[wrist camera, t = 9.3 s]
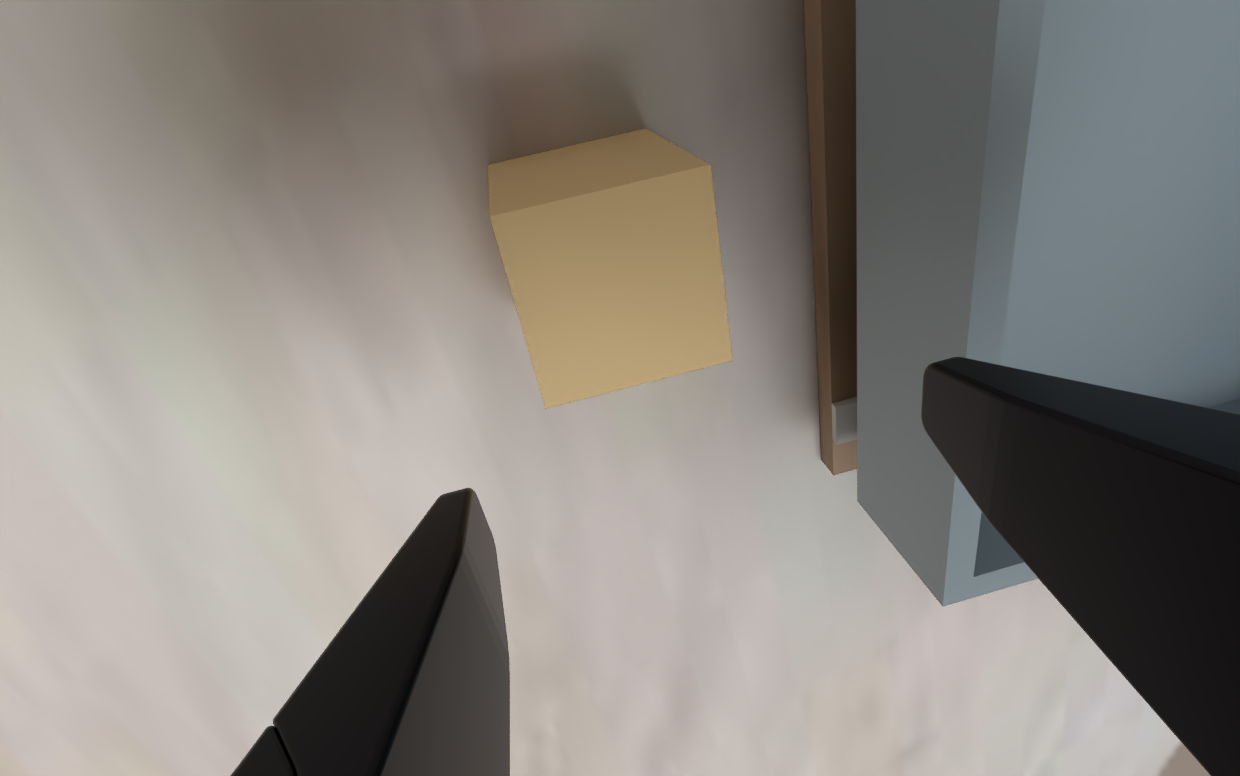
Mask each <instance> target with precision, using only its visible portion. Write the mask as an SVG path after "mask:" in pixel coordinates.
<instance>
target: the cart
mask: <svg viewBox="0 0 1240 776" xmlns="http://www.w3.org/2000/svg"><path fill="white" fill-rule="evenodd" d="M856 198H857V501H858V502H859V504H860V505H861V506H862V507H863V509H864V510H865V511H866V512H867V513H868V515H869V516H870V517H871V518H872V520H873V521H874V522H875V523H876V525H877V526H878V527H879V528H880V530H881V531H882V532H883V533H884V534H885V536H886V537H887V538H888V539H889V541H890V542H891V543H892V544H893V546H894V547H895V548H896V549H897V551H898V552H899V553H900V554H901V555H902V557H903V558H904V559H905V560H906V562H907V563H908V564H909V565H910V567H911V568H912V569H913V570H914V572H915V573H916V574H917V575H918V577H919V578H920V579H921V580H922V581H923V583H924V584H925V585H926V586H927V588H928V589H929V590H930V591H931V593H932V594H933V595H934V596H935V598H936V599H937V600H938V601H939V602H940V604H941V605H942V606H946V605H949V604H953V603H956V602H960V601H963V600H966V599H970V598H973V597H977V596H980V595H983V594H987V593H990V592H993V591H997V590H1000V589H1004V588H1007V587H1010V586H1014V585H1017V584H1021V583H1024V582H1027V581H1031V580H1034V579H1037V578H1038V577H1037V576H1036V575H1035V574H1034V573H1033V572H1032V570H1031V569H1030V568H1029V567H1028V566H1027V565H1026V564H1025V562H1024V561H1023V560H1022V559H1021V558H1020V557H1019V556H1018V554H1017V553H1016V552H1015V551H1014V550H1013V549H1012V548H1011V546H1010V545H1009V544H1008V543H1007V542H1006V541H1005V540H1004V538H1003V537H1002V536H1001V535H1000V534H999V533H998V531H997V530H996V529H995V528H994V526H993V525H992V524H991V523H990V522H989V520H988V519H987V518H986V517H985V515H984V514H983V513H982V511H981V510H980V509H979V507H978V506H977V505H976V503H975V502H974V500H973V499H972V497H971V496H970V495H969V493H968V492H967V490H966V489H965V487H964V486H963V485H962V483H961V482H960V480H959V479H958V477H957V476H956V475H955V473H954V472H953V470H952V469H951V467H950V466H949V465H948V463H947V462H946V460H945V459H944V457H943V456H942V455H941V453H940V452H939V450H938V449H937V447H936V446H935V445H934V443H933V442H932V440H931V439H930V437H929V436H928V435H927V433H926V431H925V429H924V427H923V424H922V419H921V406H922V388H923V375H924V371H925V368H926V367H927V366H928V365H929V364H931V363H934V362H937V361H941V360H945V359H948V358H952V357H964V358H968V359H973V360H978V361H983V362H988V363H993V364H997V365H1002V366H1007V367H1012V368H1017V369H1022V370H1027V371H1031V372H1036V373H1041V374H1046V375H1051V376H1056V377H1061V378H1065V379H1070V380H1075V381H1080V382H1085V383H1090V384H1095V385H1099V386H1104V387H1109V388H1114V389H1119V390H1124V391H1129V392H1133V393H1138V394H1143V395H1148V396H1153V397H1158V398H1163V399H1167V400H1172V401H1177V402H1182V403H1187V404H1192V405H1197V406H1201V407H1206V408H1211V409H1216V410H1221V411H1226V412H1231V413H1235V414H1240V0H856Z"/></svg>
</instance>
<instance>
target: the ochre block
mask: <svg viewBox="0 0 1240 776" xmlns="http://www.w3.org/2000/svg"><path fill="white" fill-rule="evenodd" d="M488 180H489V217H490V220H491V224H492V227H493V231H494V234H495V238H496V241H497V244H498V248H499V251H500V255H501V258H502V262H503V265H504V268H505V272H506V275H507V279H508V282H509V286H510V289H511V292H512V296H513V299H514V303H515V306H516V310H517V313H518V317H519V320H520V323H521V327H522V330H523V334H524V337H525V341H526V344H527V347H528V351H529V354H530V358H531V361H532V365H533V368H534V371H535V375H536V378H537V382H538V385H539V389H540V392H541V395H542V399H543V402H544V406H545V409H547V408H551V407H555V406H559V405H563V404H567V403H570V402H574V401H578V400H582V399H586V398H590V397H594V396H598V395H601V394H605V393H609V392H613V391H617V390H621V389H625V388H628V387H632V386H636V385H640V384H644V383H648V382H652V381H656V380H659V379H663V378H667V377H671V376H675V375H679V374H683V373H686V372H690V371H694V370H698V369H702V368H706V367H710V366H714V365H717V364H721V363H725V362H729V361H733V360H732V351H731V342H730V333H729V324H728V315H727V306H726V297H725V288H724V279H723V270H722V261H721V252H720V243H719V234H718V225H717V216H716V207H715V198H714V189H713V180H712V171H711V164H709V163H707V162H705V161H704V160H702V159H700V158H698V157H697V156H695V155H693V154H691V153H689V152H688V151H686V150H684V149H682V148H680V147H679V146H677V145H675V144H673V143H671V142H670V141H668V140H666V139H664V138H662V137H661V136H659V135H657V134H655V133H654V132H652V131H650V130H648V129H646V128H645V129H640V130H636V131H632V132H627V133H623V134H619V135H614V136H610V137H606V138H601V139H597V140H593V141H588V142H584V143H580V144H575V145H571V146H567V147H562V148H558V149H554V150H550V151H545V152H541V153H537V154H532V155H528V156H524V157H519V158H515V159H511V160H506V161H502V162H498V163H493V164H489V165H488Z"/></svg>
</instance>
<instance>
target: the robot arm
mask: <svg viewBox="0 0 1240 776" xmlns="http://www.w3.org/2000/svg"><path fill="white" fill-rule="evenodd" d="M921 419H922V424H923V427H924V429H925V431H926V433H927V435H928V436H929V437H930V439H931V440H932V442H933V443H934V445H935V446H936V447H937V449H938V450H939V452H940V453H941V455H942V456H943V457H944V459H945V460H946V462H947V463H948V465H949V466H950V467H951V469H952V470H953V472H954V473H955V475H956V476H957V477H958V479H959V480H960V482H961V483H962V485H963V486H964V487H965V489H966V490H967V492H968V493H969V495H970V496H971V497H972V499H973V500H974V502H975V503H976V505H977V506H978V507H979V509H980V510H981V511H982V513H983V514H984V515H985V517H986V518H987V519H988V520H989V522H990V523H991V524H992V525H993V526H994V528H995V529H996V530H997V531H998V533H999V534H1000V535H1001V536H1002V537H1003V538H1004V540H1005V541H1006V542H1007V543H1008V544H1009V545H1010V546H1011V548H1012V549H1013V550H1014V551H1015V552H1016V553H1017V554H1018V556H1019V557H1020V558H1021V559H1022V560H1023V561H1024V562H1025V564H1026V565H1027V566H1028V567H1029V568H1030V569H1031V570H1032V572H1033V573H1034V574H1035V575H1036V576H1037V577H1038V578H1039V580H1040V581H1041V582H1042V583H1043V584H1044V585H1045V586H1046V588H1047V589H1048V590H1049V591H1050V592H1051V593H1052V594H1053V596H1054V597H1055V598H1056V599H1057V600H1058V601H1059V602H1060V604H1061V605H1062V606H1063V607H1064V608H1065V609H1066V610H1067V612H1068V613H1069V614H1070V615H1071V616H1072V617H1073V618H1074V620H1075V621H1076V622H1077V623H1078V624H1079V625H1080V627H1081V628H1082V629H1083V630H1084V631H1085V632H1086V633H1087V635H1088V636H1089V637H1090V638H1091V639H1092V640H1093V641H1094V643H1095V644H1096V645H1097V646H1098V647H1099V648H1100V649H1101V651H1102V652H1103V653H1104V654H1105V655H1106V656H1107V657H1108V659H1109V660H1110V661H1111V662H1112V663H1113V664H1114V665H1115V667H1116V668H1117V669H1118V670H1119V671H1120V672H1121V673H1122V675H1123V676H1124V677H1125V678H1126V679H1127V680H1128V681H1129V683H1130V684H1131V685H1132V686H1133V687H1134V688H1135V689H1136V691H1137V692H1138V693H1139V694H1140V695H1141V696H1142V697H1143V699H1144V700H1145V701H1146V702H1147V703H1148V704H1149V706H1150V707H1151V708H1152V709H1153V710H1154V711H1155V712H1156V714H1157V715H1158V716H1159V717H1160V718H1161V719H1162V720H1163V722H1164V723H1165V724H1166V725H1167V726H1168V727H1169V728H1170V730H1171V731H1172V732H1173V733H1174V734H1175V735H1176V736H1177V738H1178V739H1179V740H1180V741H1181V742H1182V743H1183V744H1184V746H1185V747H1186V748H1187V749H1188V750H1189V751H1190V752H1191V754H1192V755H1193V756H1194V757H1195V758H1196V759H1197V760H1198V762H1199V763H1200V764H1201V765H1202V766H1203V767H1204V768H1205V770H1207V772H1208V773H1209V774H1210V775H1211V776H1240V414H1235V413H1231V412H1226V411H1221V410H1216V409H1211V408H1206V407H1201V406H1197V405H1192V404H1187V403H1182V402H1177V401H1172V400H1167V399H1163V398H1158V397H1153V396H1148V395H1143V394H1138V393H1133V392H1129V391H1124V390H1119V389H1114V388H1109V387H1104V386H1099V385H1095V384H1090V383H1085V382H1080V381H1075V380H1070V379H1065V378H1061V377H1056V376H1051V375H1046V374H1041V373H1036V372H1031V371H1027V370H1022V369H1017V368H1012V367H1007V366H1002V365H997V364H993V363H988V362H983V361H978V360H973V359H968V358H964V357H952V358H948V359H945V360H941V361H937V362H934V363H931V364H929V365H928V366H927V367H926V368H925V371H924V375H923V388H922V406H921ZM273 724H274V726H269V727H267V728H266V729H265V731H264V732H263V733H262V735H261V736H260V737H259V739H258V740H257V741H256V743H255V744H254V745H253V747H252V748H251V749H250V751H249V752H248V753H247V755H246V756H245V757H244V759H243V760H242V761H241V763H240V764H239V765H238V767H237V768H236V769H235V770H234V772H233V773H232V774H231V776H510V671H509V652H508V642H507V633H506V625H505V617H504V609H503V601H502V593H501V585H500V577H499V569H498V561H497V553H496V547H495V543H494V539H493V536H492V533H491V530H490V528H489V525H488V523H487V520H486V517H485V515H484V512H483V510H482V507H481V505H480V502H479V500H478V497H477V495H476V493H475V491H474V490H472V489H471V488H465V489H461V490H458V491H454V492H450V493H446V494H443V495H441V496H440V497H439V498H438V499H437V500H436V502H435V503H434V504H433V506H432V507H431V508H430V510H429V511H428V512H427V514H426V515H425V516H424V518H423V519H422V520H421V522H420V523H419V524H418V526H417V527H416V528H415V530H414V531H413V532H412V534H411V535H410V536H409V538H408V539H407V540H406V542H405V543H404V544H403V546H402V547H401V549H400V550H399V551H398V553H397V554H396V555H395V557H394V558H393V559H392V561H391V562H390V563H389V565H388V566H387V567H386V569H385V570H384V571H383V573H382V574H381V575H380V577H379V578H378V579H377V581H376V582H375V583H374V585H373V586H372V587H371V589H370V590H369V591H368V593H367V594H366V595H365V597H364V598H363V599H362V601H361V602H360V604H359V605H358V606H357V608H356V609H355V610H354V612H353V613H352V614H351V616H350V617H349V618H348V620H347V621H346V622H345V624H344V625H343V626H342V628H341V629H340V630H339V632H338V633H337V634H336V636H335V637H334V638H333V640H332V641H331V642H330V644H329V645H328V646H327V648H326V649H325V650H324V652H323V653H322V654H321V656H320V657H319V659H318V660H317V661H316V663H315V664H314V665H313V667H312V668H311V669H310V671H309V672H308V673H307V675H306V676H305V677H304V679H303V680H302V681H301V683H300V684H299V685H298V687H297V688H296V689H295V691H294V692H293V693H292V695H291V696H290V697H289V699H288V700H287V701H286V703H285V704H284V705H283V707H282V708H281V709H280V711H279V712H278V714H277V715H276V716H275V718H274V719H273Z"/></svg>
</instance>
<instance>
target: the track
mask: <svg viewBox="0 0 1240 776" xmlns="http://www.w3.org/2000/svg"><path fill="white" fill-rule="evenodd" d="M804 21H805V47H806V73H807V99H808V125H809V151H810V177H811V203H812V229H813V255H814V281H815V307H816V333H817V359H818V384H819V410H820V436H821V460H822V461H823V463H824V464H825V465H826V466H827V468H828V469H829V470H830V471H831V473H832V474H833V475H836V474H839V473H843V472H847V471H850V470H854V469H857V198H856V0H804Z"/></svg>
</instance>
